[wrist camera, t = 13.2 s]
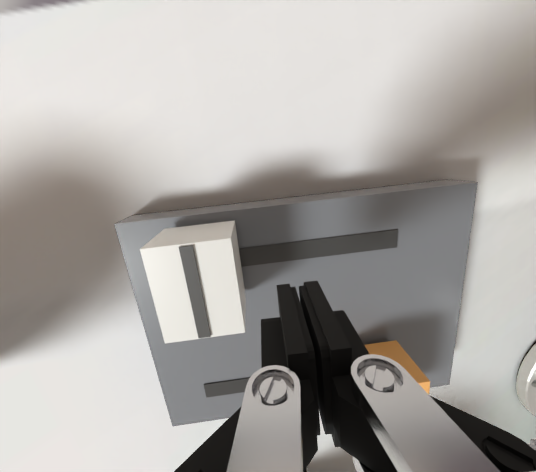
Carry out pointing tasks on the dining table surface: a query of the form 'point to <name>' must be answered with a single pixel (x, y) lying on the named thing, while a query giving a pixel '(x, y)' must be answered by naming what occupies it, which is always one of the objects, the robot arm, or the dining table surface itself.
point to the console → (319, 280)
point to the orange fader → (400, 360)
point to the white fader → (196, 281)
